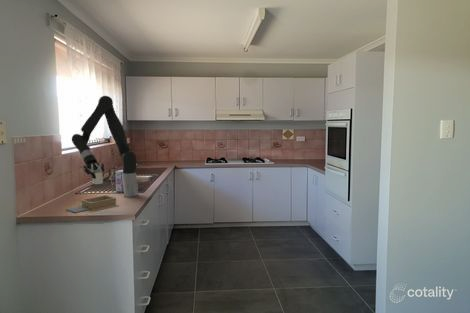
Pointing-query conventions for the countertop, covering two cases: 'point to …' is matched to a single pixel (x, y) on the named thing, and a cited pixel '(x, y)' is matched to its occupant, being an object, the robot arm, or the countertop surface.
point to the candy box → (119, 181)
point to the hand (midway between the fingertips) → (98, 177)
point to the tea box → (98, 177)
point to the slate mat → (77, 209)
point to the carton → (99, 202)
